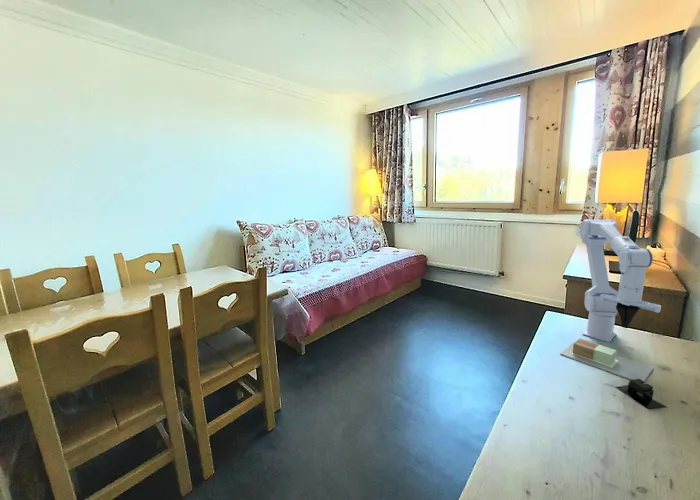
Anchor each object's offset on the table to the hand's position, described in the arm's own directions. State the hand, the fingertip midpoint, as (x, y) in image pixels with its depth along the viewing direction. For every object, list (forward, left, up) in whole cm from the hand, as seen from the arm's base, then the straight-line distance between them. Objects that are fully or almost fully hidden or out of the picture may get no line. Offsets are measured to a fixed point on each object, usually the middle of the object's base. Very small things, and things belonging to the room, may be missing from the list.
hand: (625, 326), depth 102 cm
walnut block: (+8, -8, -10) cm, 15 cm away
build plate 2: (+21, +9, -11) cm, 25 cm away
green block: (+8, -3, -10) cm, 13 cm away
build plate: (+8, -2, -10) cm, 13 cm away
